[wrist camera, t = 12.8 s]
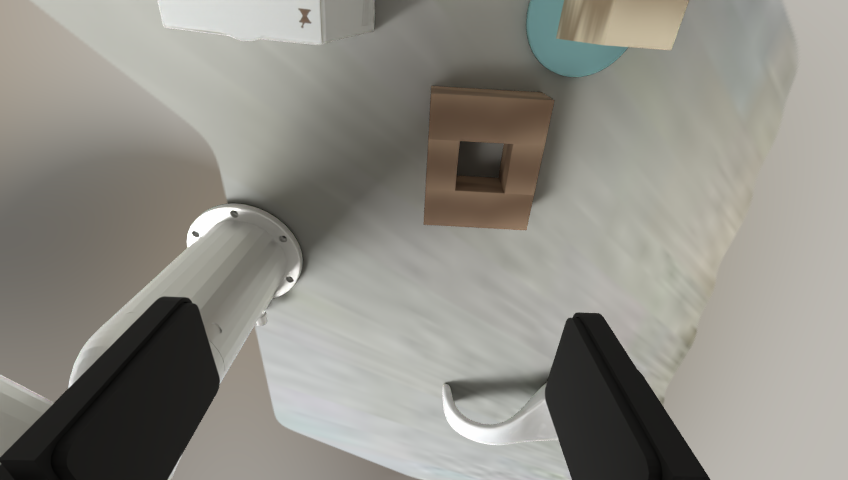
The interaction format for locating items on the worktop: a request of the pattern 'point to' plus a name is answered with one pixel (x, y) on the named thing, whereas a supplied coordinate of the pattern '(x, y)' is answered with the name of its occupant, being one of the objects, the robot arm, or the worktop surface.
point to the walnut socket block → (493, 123)
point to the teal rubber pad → (564, 43)
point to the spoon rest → (505, 422)
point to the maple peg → (622, 22)
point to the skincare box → (272, 18)
